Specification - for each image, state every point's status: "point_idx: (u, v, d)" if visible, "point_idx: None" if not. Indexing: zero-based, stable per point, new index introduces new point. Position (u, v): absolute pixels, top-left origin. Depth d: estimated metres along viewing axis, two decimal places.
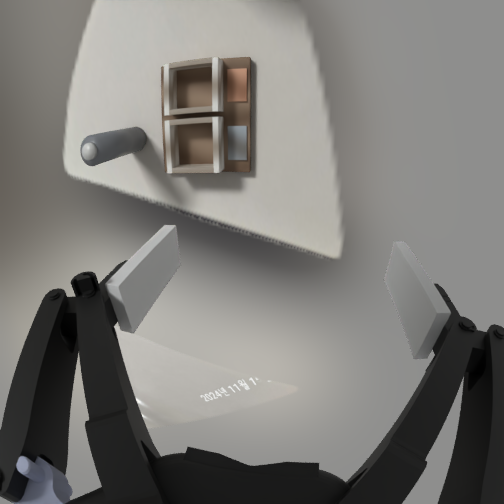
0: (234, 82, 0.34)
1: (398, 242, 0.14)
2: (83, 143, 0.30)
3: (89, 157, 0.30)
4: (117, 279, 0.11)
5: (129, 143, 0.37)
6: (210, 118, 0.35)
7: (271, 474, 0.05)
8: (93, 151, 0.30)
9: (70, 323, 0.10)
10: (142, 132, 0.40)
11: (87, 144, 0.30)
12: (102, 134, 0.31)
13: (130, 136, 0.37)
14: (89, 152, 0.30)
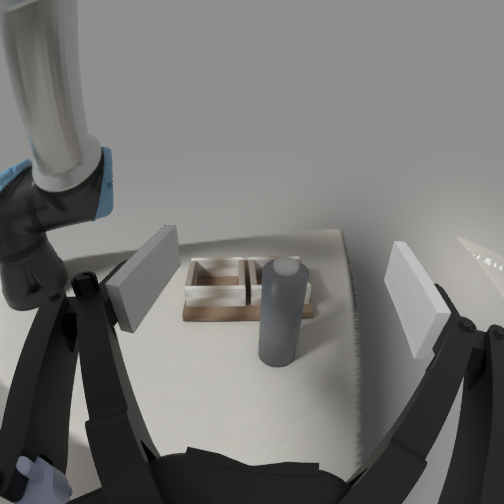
0: None
1: (398, 242, 0.14)
2: (274, 280, 0.25)
3: (295, 262, 0.26)
4: (117, 279, 0.11)
5: None
6: (250, 260, 0.43)
7: (271, 474, 0.05)
8: (285, 257, 0.27)
9: (70, 323, 0.10)
10: None
11: (275, 263, 0.26)
12: None
13: None
14: (287, 261, 0.26)
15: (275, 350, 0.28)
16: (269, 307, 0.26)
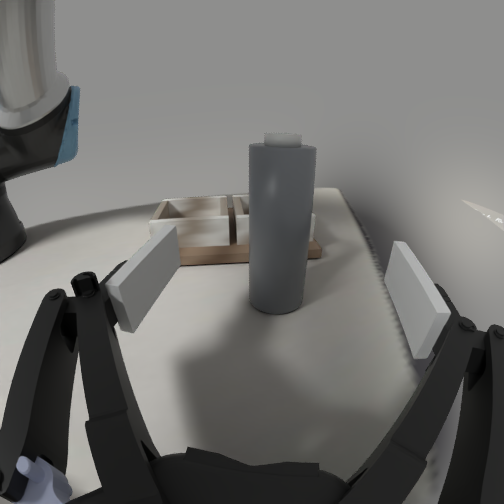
0: None
1: (398, 242, 0.14)
2: (267, 147, 0.16)
3: (294, 134, 0.17)
4: (117, 279, 0.11)
5: None
6: (234, 197, 0.34)
7: (271, 474, 0.05)
8: (281, 133, 0.18)
9: (70, 323, 0.10)
10: None
11: (267, 133, 0.17)
12: None
13: None
14: (284, 133, 0.17)
15: (274, 280, 0.19)
16: (261, 198, 0.17)
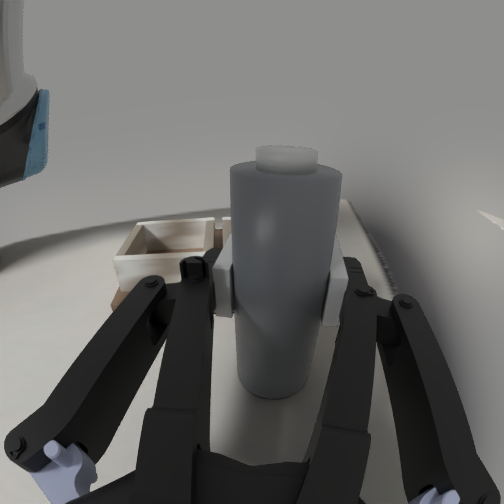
0: None
1: None
2: (259, 176, 0.09)
3: (306, 149, 0.10)
4: (223, 263, 0.12)
5: None
6: (224, 220, 0.27)
7: (271, 474, 0.05)
8: (283, 146, 0.11)
9: (170, 310, 0.11)
10: None
11: (260, 148, 0.10)
12: None
13: None
14: (288, 148, 0.10)
15: (269, 367, 0.13)
16: (249, 261, 0.10)
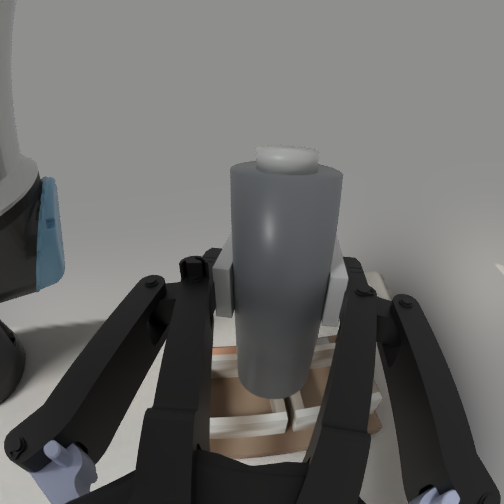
0: None
1: None
2: (260, 176, 0.09)
3: (306, 149, 0.10)
4: (223, 263, 0.12)
5: None
6: None
7: (271, 474, 0.05)
8: (284, 146, 0.11)
9: (170, 310, 0.11)
10: None
11: (260, 148, 0.10)
12: None
13: None
14: (289, 148, 0.10)
15: (270, 367, 0.13)
16: (250, 261, 0.10)
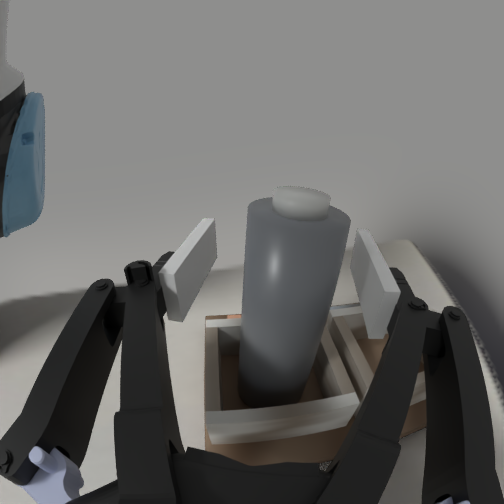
0: None
1: (361, 229, 0.16)
2: (277, 222, 0.10)
3: (319, 193, 0.11)
4: (170, 268, 0.12)
5: None
6: (336, 319, 0.19)
7: (271, 474, 0.05)
8: None
9: (119, 313, 0.11)
10: None
11: (277, 191, 0.11)
12: None
13: None
14: (303, 191, 0.11)
15: (270, 386, 0.14)
16: (261, 295, 0.11)
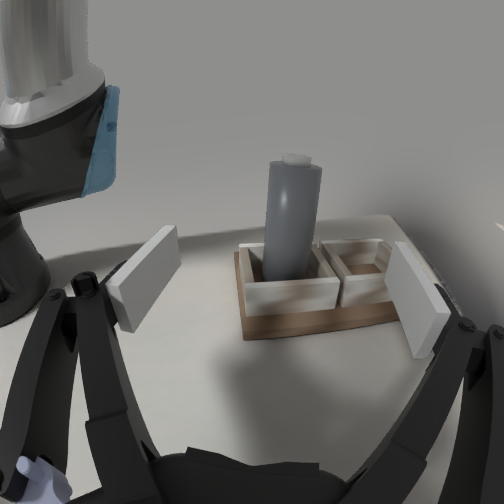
0: None
1: (398, 242, 0.14)
2: (284, 167, 0.21)
3: (306, 156, 0.22)
4: (117, 279, 0.11)
5: None
6: (324, 244, 0.29)
7: (271, 474, 0.05)
8: (295, 154, 0.23)
9: (70, 323, 0.10)
10: None
11: (284, 154, 0.22)
12: None
13: None
14: (297, 155, 0.22)
15: (282, 271, 0.24)
16: (277, 205, 0.22)
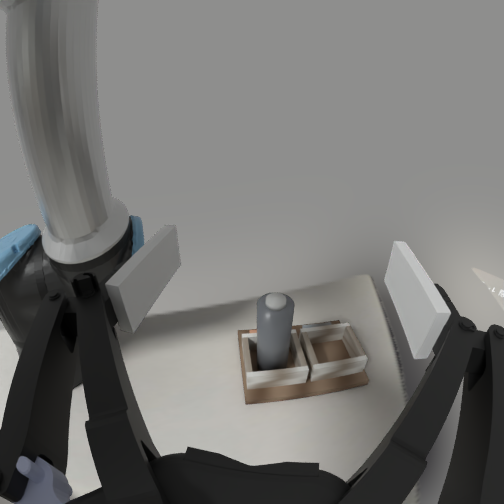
0: None
1: (398, 242, 0.14)
2: (265, 312, 0.31)
3: (283, 297, 0.32)
4: (117, 279, 0.11)
5: None
6: (303, 333, 0.40)
7: (271, 474, 0.05)
8: None
9: (70, 323, 0.10)
10: None
11: (267, 298, 0.32)
12: None
13: None
14: (276, 297, 0.32)
15: (268, 363, 0.35)
16: (262, 332, 0.32)
